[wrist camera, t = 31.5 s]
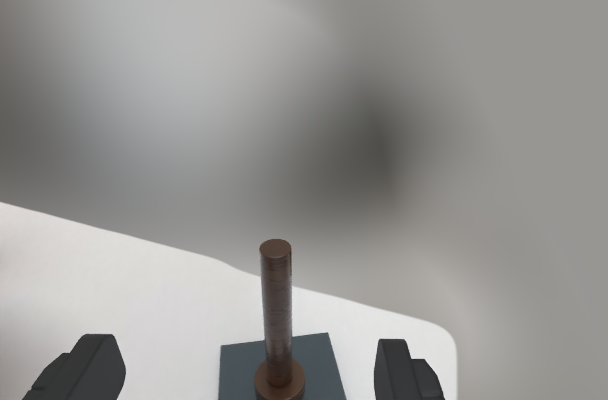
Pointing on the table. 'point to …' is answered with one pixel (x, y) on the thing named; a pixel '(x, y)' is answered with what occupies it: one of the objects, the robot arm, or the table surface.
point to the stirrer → (278, 327)
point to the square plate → (305, 349)
